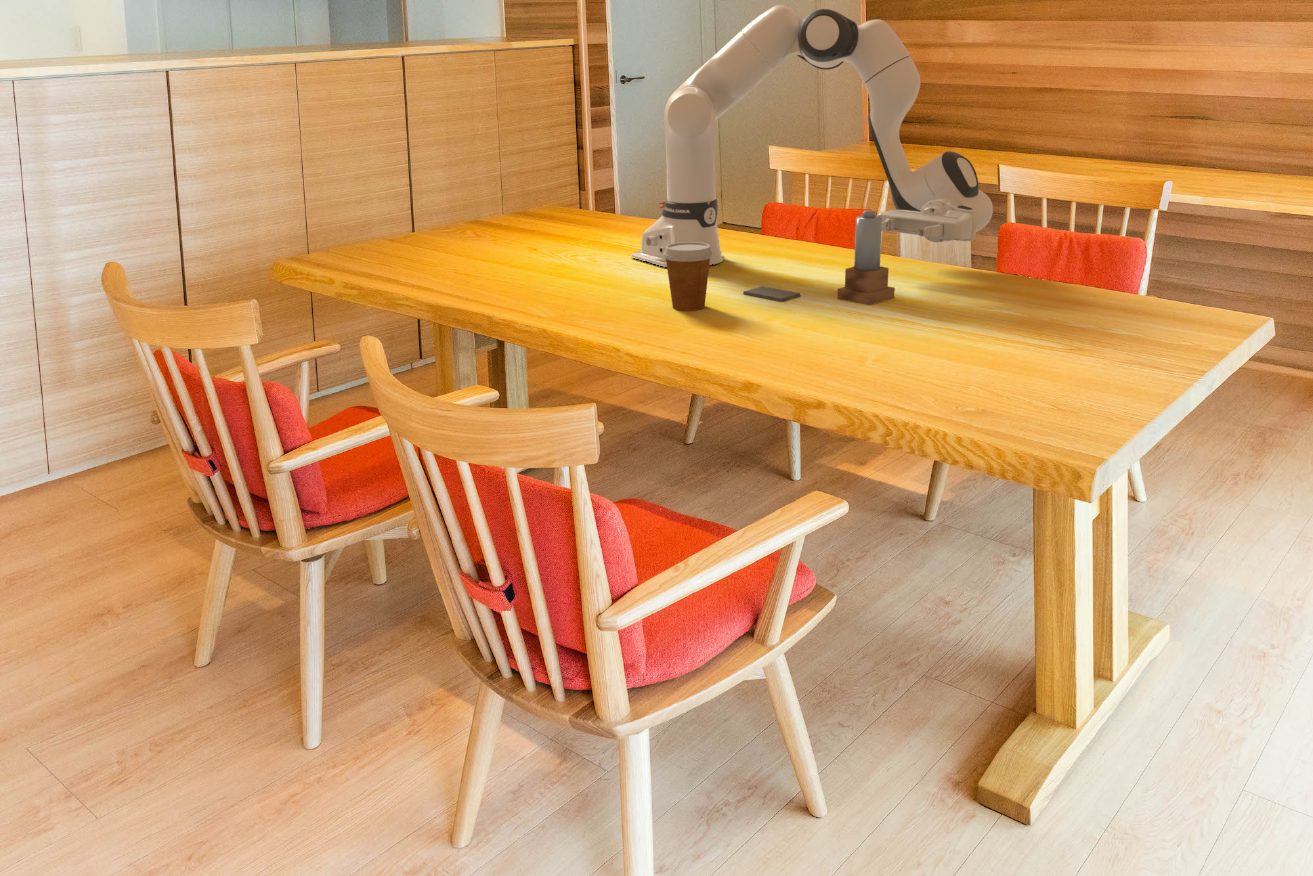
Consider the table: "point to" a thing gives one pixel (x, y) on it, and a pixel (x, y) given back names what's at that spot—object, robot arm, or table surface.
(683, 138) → the robot arm
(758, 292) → the mat
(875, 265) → the gray bottle
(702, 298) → the disposable coffee cup
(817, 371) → the table surface
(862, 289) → the brown stepped pedestal
